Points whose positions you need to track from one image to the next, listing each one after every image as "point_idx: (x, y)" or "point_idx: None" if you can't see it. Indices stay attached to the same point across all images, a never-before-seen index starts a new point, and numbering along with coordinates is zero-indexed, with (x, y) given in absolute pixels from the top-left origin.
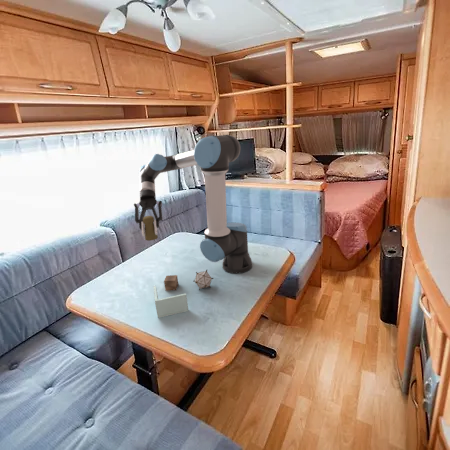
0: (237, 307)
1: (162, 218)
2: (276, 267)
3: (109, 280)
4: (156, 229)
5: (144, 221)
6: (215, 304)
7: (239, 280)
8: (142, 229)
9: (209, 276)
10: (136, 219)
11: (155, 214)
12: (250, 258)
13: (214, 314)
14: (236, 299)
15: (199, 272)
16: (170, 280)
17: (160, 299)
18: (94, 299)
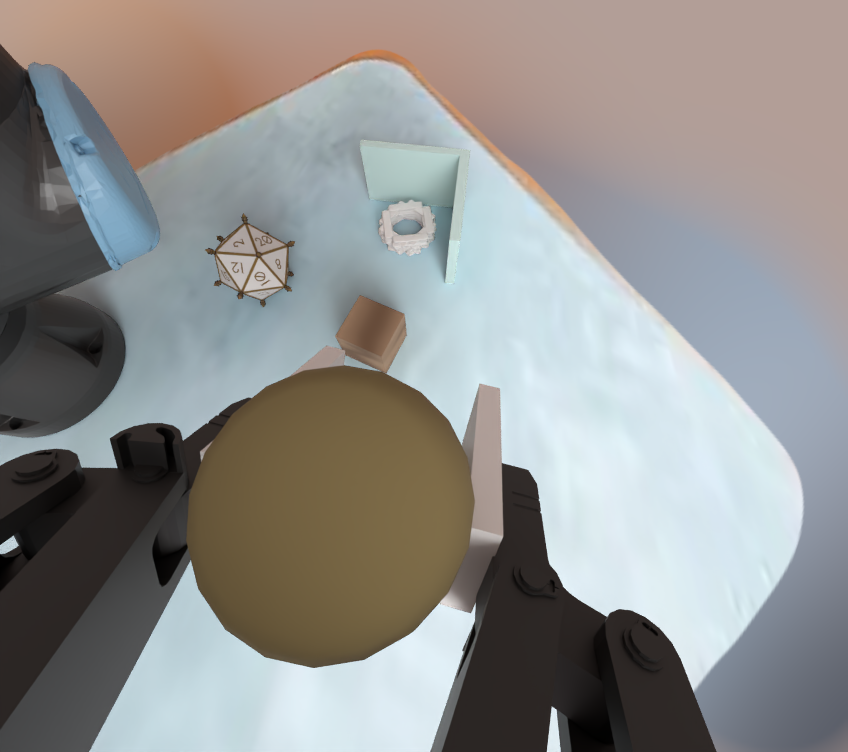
0: (242, 149)
1: (20, 559)
2: None
3: (656, 583)
4: None
5: (444, 417)
6: (287, 185)
7: (133, 265)
8: (489, 421)
9: (224, 240)
10: (643, 654)
11: (36, 596)
12: None
13: (312, 151)
14: (220, 179)
15: (246, 255)
16: (377, 305)
17: (450, 150)
18: (692, 416)
